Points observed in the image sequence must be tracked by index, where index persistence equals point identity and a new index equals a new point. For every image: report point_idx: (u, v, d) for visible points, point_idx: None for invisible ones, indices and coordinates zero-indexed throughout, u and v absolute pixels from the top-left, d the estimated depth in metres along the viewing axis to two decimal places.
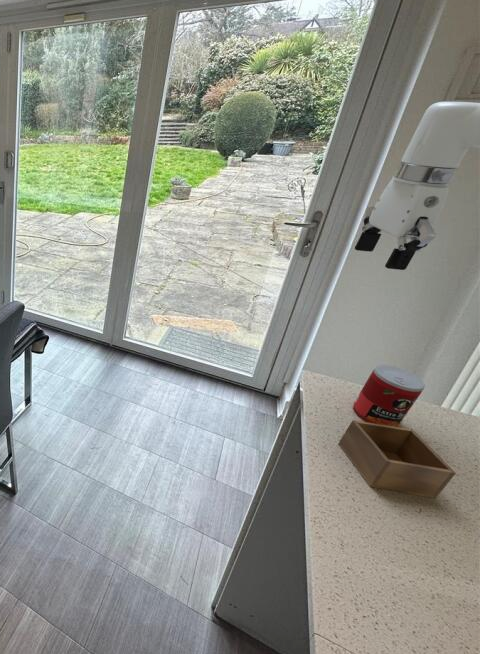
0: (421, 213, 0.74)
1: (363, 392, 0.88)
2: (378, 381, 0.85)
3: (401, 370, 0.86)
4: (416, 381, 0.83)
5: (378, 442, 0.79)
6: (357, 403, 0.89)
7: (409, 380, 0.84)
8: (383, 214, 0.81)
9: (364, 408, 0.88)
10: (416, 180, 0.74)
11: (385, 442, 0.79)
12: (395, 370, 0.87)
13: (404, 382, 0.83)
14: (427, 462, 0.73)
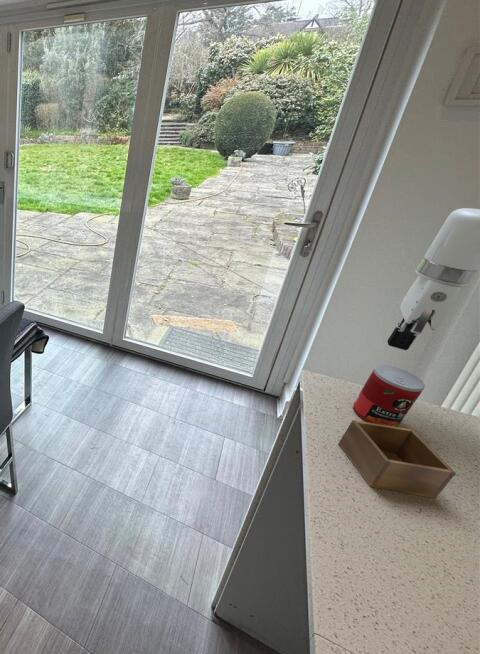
0: (428, 305, 0.81)
1: (363, 392, 0.88)
2: (378, 381, 0.85)
3: (401, 370, 0.86)
4: (416, 381, 0.83)
5: (378, 442, 0.79)
6: (357, 403, 0.89)
7: (409, 380, 0.84)
8: (406, 301, 0.87)
9: (364, 408, 0.88)
10: (428, 275, 0.81)
11: (385, 442, 0.79)
12: (395, 370, 0.87)
13: (404, 382, 0.83)
14: (427, 462, 0.73)
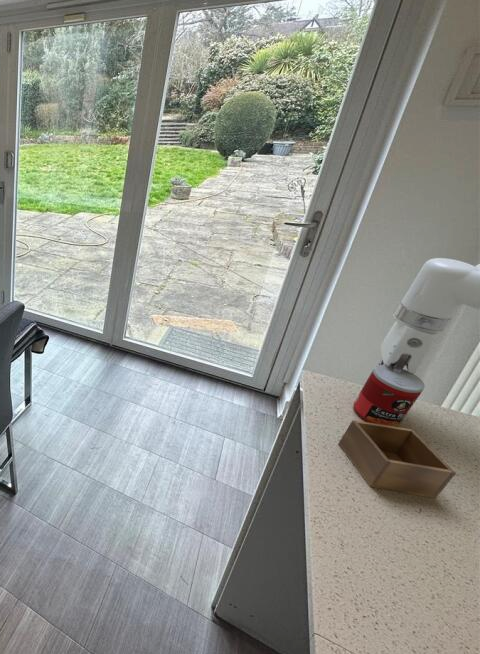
0: (404, 350, 0.84)
1: (363, 392, 0.88)
2: (377, 382, 0.85)
3: None
4: (416, 381, 0.83)
5: (378, 442, 0.79)
6: (357, 403, 0.89)
7: (409, 380, 0.83)
8: (385, 343, 0.90)
9: (364, 409, 0.88)
10: (404, 321, 0.84)
11: (385, 442, 0.79)
12: None
13: (404, 382, 0.83)
14: (427, 462, 0.73)
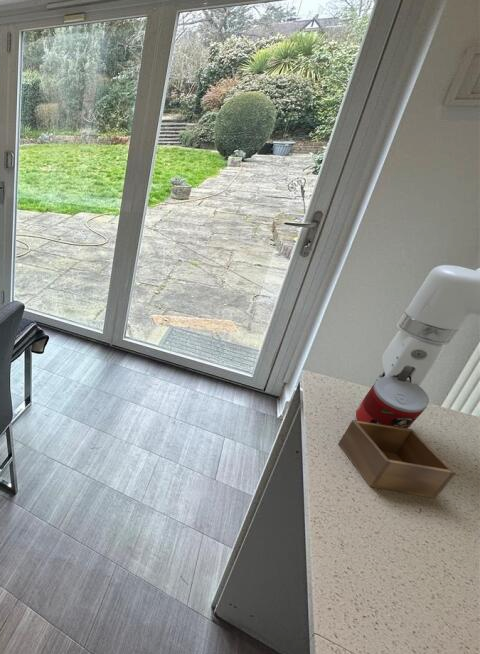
0: (408, 362, 0.79)
1: (363, 403, 0.84)
2: (376, 399, 0.80)
3: (406, 381, 0.80)
4: (420, 396, 0.78)
5: (378, 442, 0.79)
6: (359, 412, 0.86)
7: (412, 395, 0.78)
8: (387, 354, 0.85)
9: (364, 420, 0.84)
10: (409, 331, 0.79)
11: (385, 442, 0.79)
12: (399, 382, 0.81)
13: (406, 399, 0.78)
14: (427, 462, 0.73)
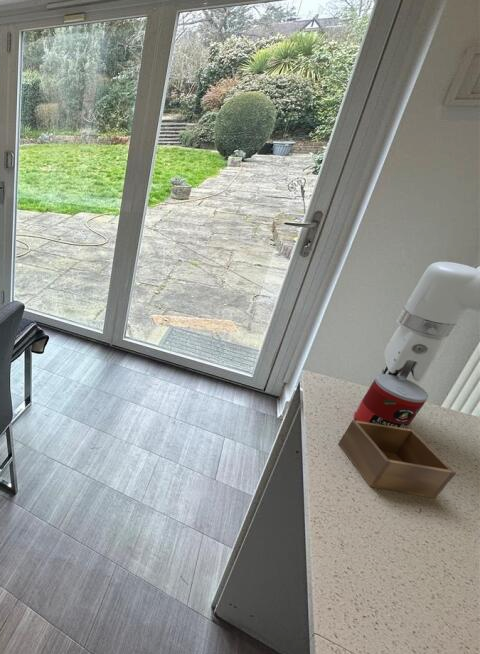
0: (410, 357, 0.82)
1: (364, 401, 0.86)
2: (379, 390, 0.82)
3: None
4: (419, 391, 0.81)
5: (378, 442, 0.79)
6: (358, 412, 0.87)
7: (412, 390, 0.81)
8: (389, 349, 0.88)
9: (365, 419, 0.85)
10: (409, 327, 0.82)
11: (385, 442, 0.79)
12: None
13: (406, 392, 0.81)
14: (427, 462, 0.73)
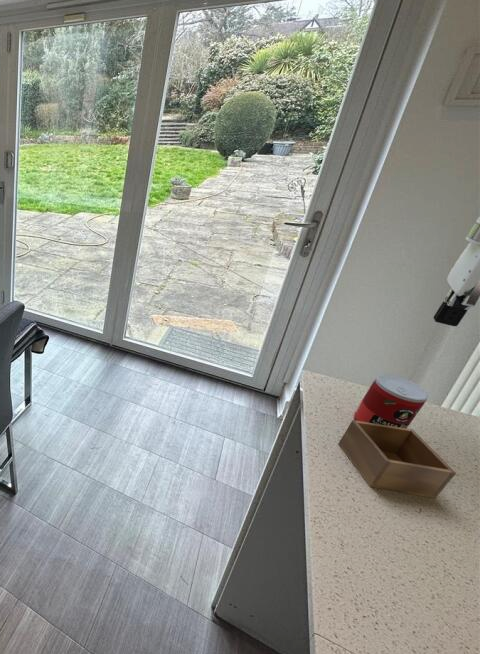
0: None
1: (364, 401, 0.86)
2: (379, 390, 0.82)
3: (404, 380, 0.84)
4: (419, 391, 0.81)
5: (378, 442, 0.79)
6: (358, 412, 0.87)
7: (412, 390, 0.81)
8: (455, 272, 0.80)
9: (365, 419, 0.85)
10: None
11: (385, 442, 0.79)
12: (398, 379, 0.84)
13: (407, 392, 0.81)
14: (427, 462, 0.73)
